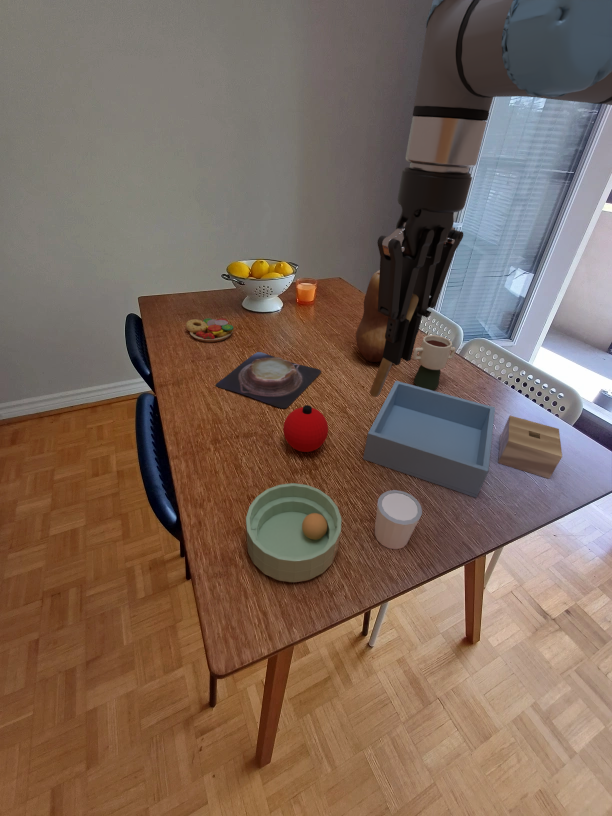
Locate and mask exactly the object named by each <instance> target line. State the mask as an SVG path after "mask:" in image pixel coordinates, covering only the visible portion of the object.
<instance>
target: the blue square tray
mask: <svg viewBox="0 0 612 816" xmlns="http://www.w3.org/2000/svg"><path fill="white" fill-rule="evenodd" d="M495 415H496V407H495V406H492V405H487V404H485V403H480V402H477V401H472V400H469V399H465V398H462V397H458V396H454V395H451V394H447V393H443V392H439V391H436V390H429V389H425V388H421V387H418V386H417V385H413V384H410V383H406V382H402V381H399V380H395V381H394V383H393V385H392V387H391V389H390V390H389V392H388V395H387V396H386V399H385V400H384V402H383V404H382V406H381V407H380V409H379V412H378V413H377V415H376V417H375V419H374V421H373V423H372V424H371V427H370V428H369V430H368V433H367V436H366V441H365V445H364V451H363V456H362V460H364V461H367V462H369V463H372V464H375V465H379V466H382V467H385V468H388V469H390V470H394V471H396V472H400V473H402V474H405V475H408V476H411V477H413V478H417V479H420V480H423V481H426V482H429V483H431V484H433V485H437V486H440V487H444V488H446V489H449V490H451V491H454V492H458V493H461V494H464V495H467V496H470V497H472V498H475V499H476V498H478V496H479V494H480V491H481V489H482V487H483V485H484V482H485V480H486V479H487V475H488V474H489V470H490V461H491V451H492V443H493V431H494V423H495V422H494V421H495Z"/></svg>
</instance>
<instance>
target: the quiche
mask: <svg viewBox="0 0 612 816" xmlns="http://www.w3.org/2000/svg"><path fill="white" fill-rule="evenodd" d="M321 372H322V370H321V369H319V368H315V367H311V366H307V365H304V364H300V363H299V364H298V363H295V362H291V361H290V360H287V359H284V358H281V357H279V356H274V355H271V354H267V353H264V352H261V351H257V352H255V353H253V354H252V355H251V356H249V357H248V358H247V359H245V360H244V361H242V362H241V363H240V364H239V365H238V366H237V367H235V368H234V369H233V370H232V371H230V372H229V373H228V374H227V375H226V376H224V377H223V378H222V379H220V380H219V381H217V382H216V383H215V387H217V388H221V389H224V390H227V391H229V392H230V391H231V392H235V393H237V394H240V395H243V396H246V397H249V398H252V399H255V400H257V401H260V402H263V403H265V404H268V405H271V406H273V407H277V408H279V409H287V408H289V406H291V404H293V402H295V400H297V399H298V397H300V395H301V394H303V392H305V390H306V389H307V388H308V387H309V386H310V385H311V384H312V382H314V381H315V380H316V378H317V377H318V376H319V375H320V374H321Z"/></svg>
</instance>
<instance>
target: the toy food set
mask: <svg viewBox="0 0 612 816" xmlns="http://www.w3.org/2000/svg"><path fill="white" fill-rule="evenodd" d="M185 329H186V330H187V331H189V334H190V336H191V337H192V338H194V339H195V340H197V341H200V342H204V343H218V342H222V341H225V340H226V339H229V337H230V336H231V335H232V334H233V332H234V326H233V325H232V324H229V320H228V319H227V318H223V317H222V318H220V317H219V318H217V319H215V318H214V319H213V318H210V317H209V318H208V317H206V318H204V319H203V320H201V319H196V318H194V319H189V320H187V321H186V323H185Z"/></svg>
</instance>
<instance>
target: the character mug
mask: <svg viewBox="0 0 612 816" xmlns="http://www.w3.org/2000/svg"><path fill="white" fill-rule="evenodd" d="M456 349H457V348H456V347H455V346H453V342H452V340H451V339H449V338H446V337H444V336H441V335H438V334H437V335H436V334H428V335H425V336H424V337H423V339H422V340H421V345H420V347H415V348H414V349H413V353H412V360H413V361H418V363H419V367H418V369H417V371H416V374H415V376H414V379H413V383H414V384H415V386H418V387H421V388H425V389H429V390H432V391H436V390H437V389H438V387H439V385H440V384H439V383H440V378H441V370H443V369H444V368H445V367H446V366H447V364H448V360H452V359H454V356H455V353H456Z"/></svg>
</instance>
